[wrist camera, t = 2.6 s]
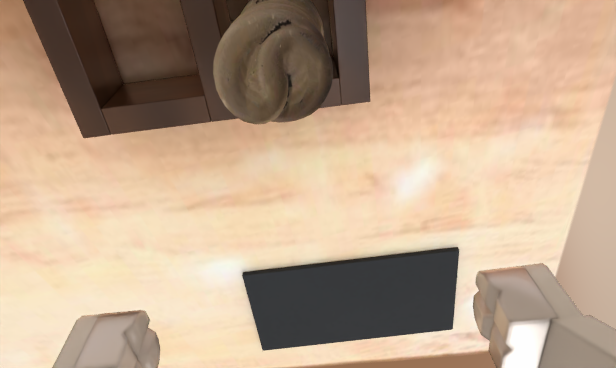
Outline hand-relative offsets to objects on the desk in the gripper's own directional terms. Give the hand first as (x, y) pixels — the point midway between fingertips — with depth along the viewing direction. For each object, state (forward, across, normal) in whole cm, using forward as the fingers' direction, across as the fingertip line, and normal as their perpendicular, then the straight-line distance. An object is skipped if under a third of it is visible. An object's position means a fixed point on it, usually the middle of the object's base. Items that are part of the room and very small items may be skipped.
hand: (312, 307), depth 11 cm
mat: (+26, -3, +29) cm, 39 cm away
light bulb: (+26, +1, -2) cm, 26 cm away
